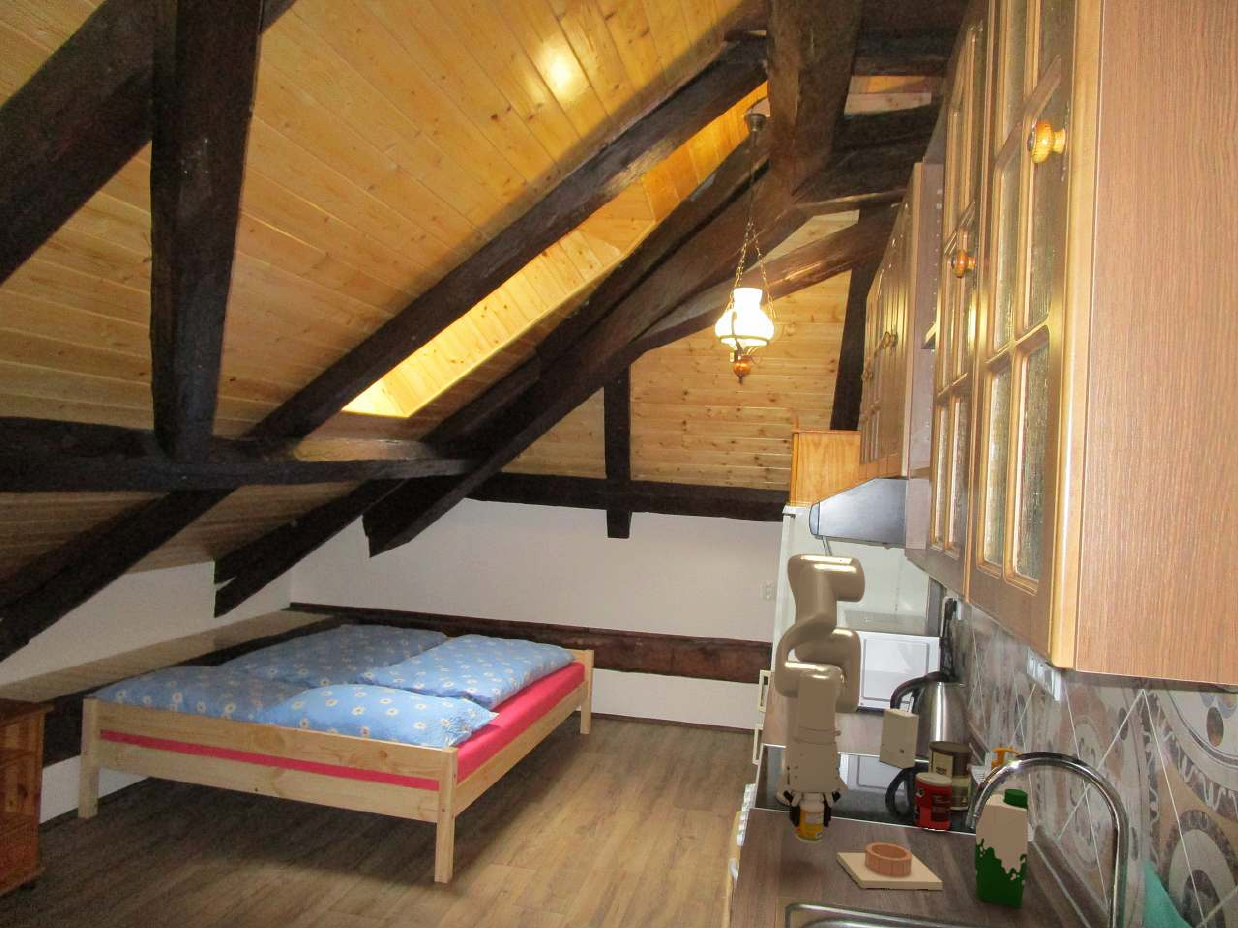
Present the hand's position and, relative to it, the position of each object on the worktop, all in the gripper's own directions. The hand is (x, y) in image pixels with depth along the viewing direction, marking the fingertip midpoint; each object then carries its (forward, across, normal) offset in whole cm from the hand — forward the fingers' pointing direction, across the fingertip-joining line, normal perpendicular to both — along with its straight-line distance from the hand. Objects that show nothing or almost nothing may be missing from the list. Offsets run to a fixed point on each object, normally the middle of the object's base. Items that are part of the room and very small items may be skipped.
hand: (809, 823), depth 178 cm
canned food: (+9, -37, -22) cm, 44 cm away
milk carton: (+8, -33, +14) cm, 36 cm away
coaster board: (+8, -15, +5) cm, 17 cm away
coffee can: (+10, -49, -38) cm, 62 cm away
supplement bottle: (+3, 0, 0) cm, 3 cm away
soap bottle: (+9, -43, -4) cm, 44 cm away
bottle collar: (+6, -15, +5) cm, 17 cm away
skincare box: (+11, -50, -70) cm, 86 cm away
